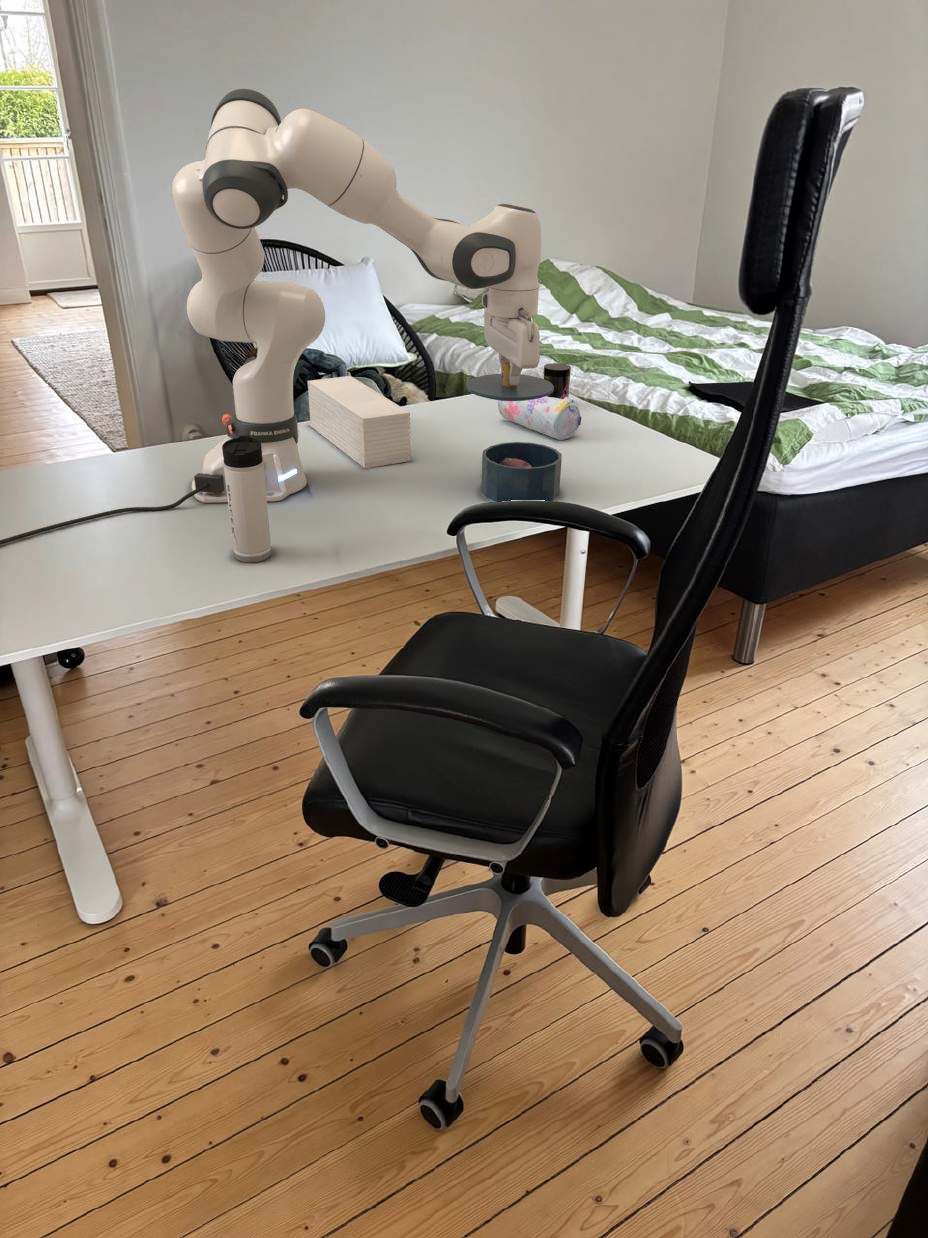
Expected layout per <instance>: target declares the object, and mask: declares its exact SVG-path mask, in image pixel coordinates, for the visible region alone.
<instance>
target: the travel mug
mask: <svg viewBox="0 0 928 1238" xmlns="http://www.w3.org/2000/svg"><path fill="white" fill-rule="evenodd" d="M222 451H223V458H224V459H223V460H224V472H225V481H226V489H227V498H228V502H227V506H228V515H229V524H230V525H229V526H230V534H231V541H232V550H233V557H234V559H236V560H237V561H239V562H242V563H250V564H251V563H259V562H262V561H265V560H267V559H269V558H270V557H271V555H272V543H271V542H272V541H271V532H270V531H271V530H270V523H269V522H270V519H269V508H268V501H267V497H266V486H265V475H264V465H263V458H262V447H261V442H260V441H259V440H257V439H254V438H250V435H239V438H233V439H230V440H228V441H226V442H225V443H224V444H223V445H222Z"/></svg>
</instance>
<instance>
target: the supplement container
mask: <svg viewBox="0 0 928 1238" xmlns="http://www.w3.org/2000/svg"><path fill="white" fill-rule="evenodd" d="M571 371H572V367H571V365H569V364H565V363H560V362H558V363H557V362H554V363H546V364H544V365H543V378H542V379H545V380H547V381H549V382H551V383H552V384H553V386H554V390H553V392H552V393H551V394H550V395H548V396H547V397H553V398H559V399H564V398H565V397H568V399H570V398H569V397H570V384H571V373H572V372H571Z"/></svg>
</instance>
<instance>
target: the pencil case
mask: <svg viewBox="0 0 928 1238" xmlns="http://www.w3.org/2000/svg"><path fill="white" fill-rule="evenodd" d="M497 409H498V412H499V414H500V416H501V417H502V418H503V419H505V420H506V421H509V422H512V423H515V424H517V425H520V426H522V427H525V428H527V429H529V430H532V431H534V432H537V433H540V434H542V435H545V436H547V437H550V438H552V439H555V440H557V441H558V440H559V441H563V440H568V439H570V438H572V437H573V436H574V435H575V434H576V433H577V431H578V430H579V427H580V426H581V425H582V416H581V412H580V408H579V406H578V404H577V402H576V401H575V399H570V398H568V397H565V398H564V399H559V398H553V397H547V396H545V397H542V398H538V399H532V400H526V401H500V400H497Z"/></svg>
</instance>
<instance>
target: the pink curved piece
mask: <svg viewBox="0 0 928 1238" xmlns="http://www.w3.org/2000/svg"><path fill="white" fill-rule="evenodd" d="M499 464H501V465H506V466H511V467H524V468H531V467H532V466H531V465H530V464H529V463H527V462H525V461H523V460H520V459H512V458H505V459H504V460H503V461H501V462H500V463H499Z"/></svg>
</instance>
